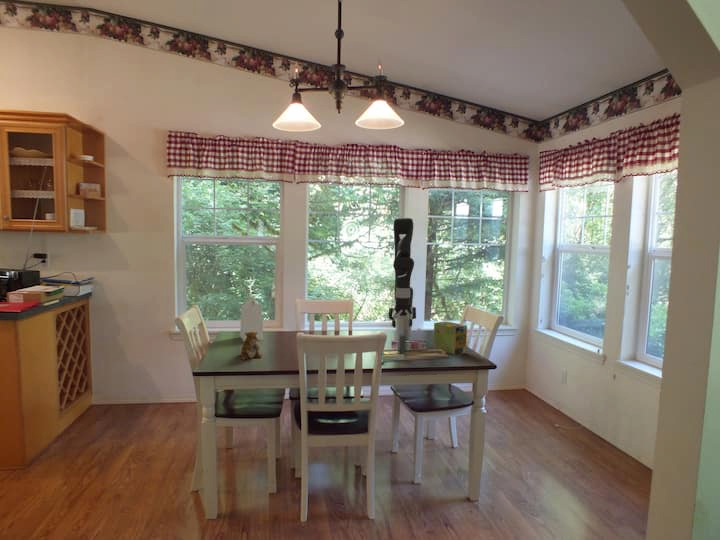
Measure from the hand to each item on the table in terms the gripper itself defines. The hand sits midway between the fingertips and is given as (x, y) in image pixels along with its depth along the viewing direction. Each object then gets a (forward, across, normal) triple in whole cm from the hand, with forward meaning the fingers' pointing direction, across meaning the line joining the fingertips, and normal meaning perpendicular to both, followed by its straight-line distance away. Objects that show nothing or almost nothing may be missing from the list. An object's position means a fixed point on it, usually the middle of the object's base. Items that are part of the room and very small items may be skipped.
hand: (402, 327), depth 231 cm
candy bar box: (+14, -16, -13) cm, 25 cm away
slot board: (+17, -12, 0) cm, 20 cm away
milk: (+17, +76, -54) cm, 95 cm away
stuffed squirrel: (+16, +77, -16) cm, 81 cm away
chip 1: (+16, +8, 0) cm, 18 cm away
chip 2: (+16, +4, 0) cm, 17 cm away
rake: (+15, 0, 0) cm, 15 cm away
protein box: (+17, -31, -8) cm, 36 cm away
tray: (+16, +7, 0) cm, 18 cm away
